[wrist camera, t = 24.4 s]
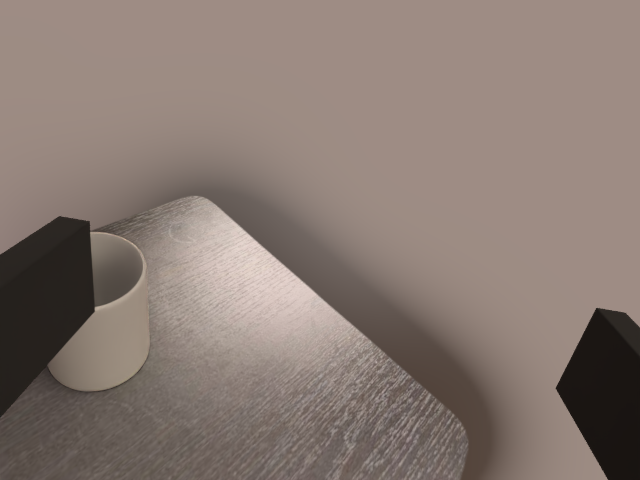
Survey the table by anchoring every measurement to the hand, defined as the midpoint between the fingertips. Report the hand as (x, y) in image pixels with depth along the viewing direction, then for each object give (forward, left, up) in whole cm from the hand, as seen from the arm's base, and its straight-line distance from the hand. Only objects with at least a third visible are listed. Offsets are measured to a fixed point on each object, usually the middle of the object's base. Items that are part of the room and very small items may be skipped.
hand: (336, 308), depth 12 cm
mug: (+19, +13, -30) cm, 38 cm away
